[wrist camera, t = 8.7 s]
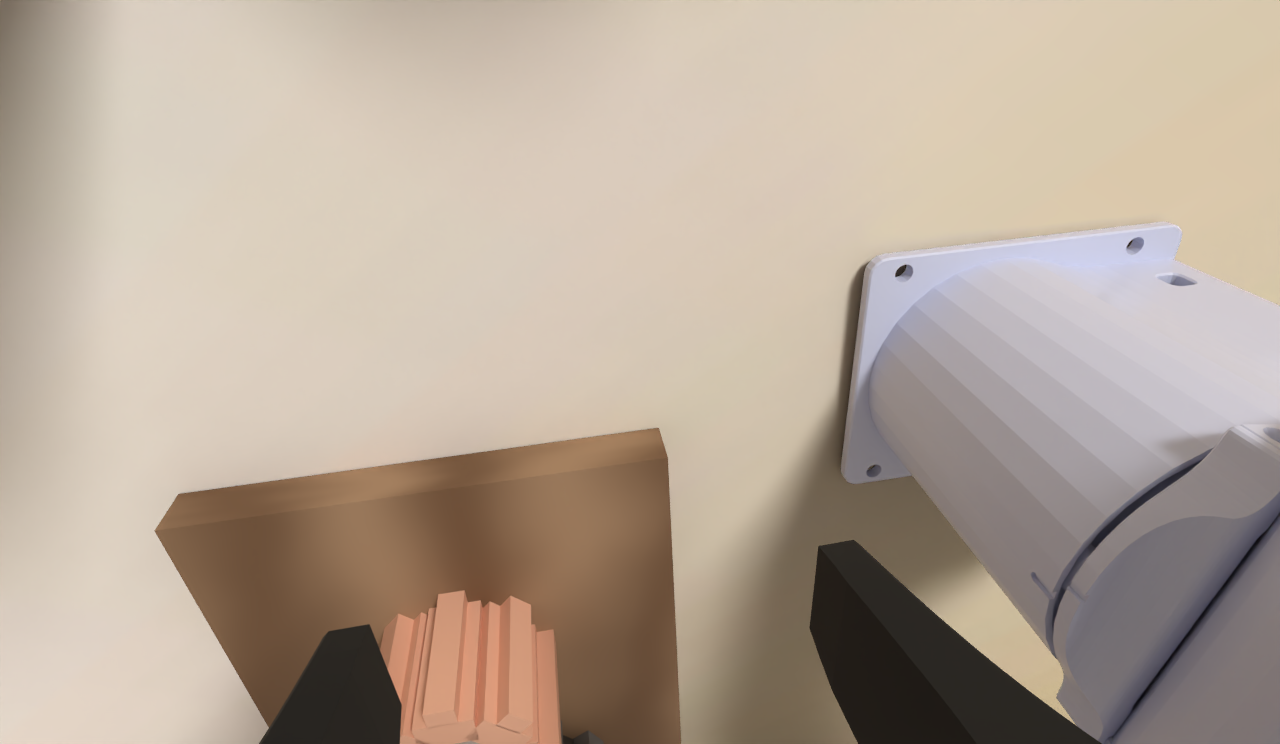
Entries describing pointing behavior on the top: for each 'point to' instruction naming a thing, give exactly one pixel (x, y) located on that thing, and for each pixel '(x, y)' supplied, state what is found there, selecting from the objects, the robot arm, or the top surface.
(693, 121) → the top surface
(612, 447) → the board
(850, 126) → the top surface
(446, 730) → the terracotta gear
